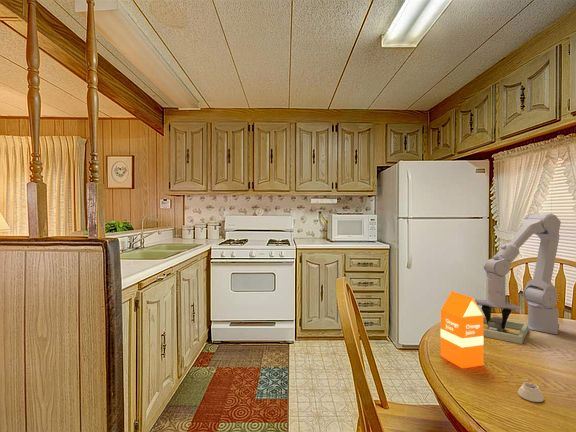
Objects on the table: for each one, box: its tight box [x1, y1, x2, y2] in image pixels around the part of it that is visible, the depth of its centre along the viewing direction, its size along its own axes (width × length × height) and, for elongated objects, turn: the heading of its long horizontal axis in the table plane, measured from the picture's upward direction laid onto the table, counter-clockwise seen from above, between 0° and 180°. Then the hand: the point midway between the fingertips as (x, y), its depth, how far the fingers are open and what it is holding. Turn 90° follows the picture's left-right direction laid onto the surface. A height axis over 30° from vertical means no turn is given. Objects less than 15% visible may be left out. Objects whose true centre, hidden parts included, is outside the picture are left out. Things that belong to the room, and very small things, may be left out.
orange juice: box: [440, 291, 485, 369], centre depth 101 cm, size 8×9×20 cm
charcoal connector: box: [487, 316, 505, 333], centre depth 125 cm, size 4×13×4 cm, turn 139°
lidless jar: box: [517, 382, 545, 403], centre depth 80 cm, size 5×3×5 cm
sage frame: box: [483, 315, 529, 345], centre depth 126 cm, size 18×18×2 cm
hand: (496, 327), depth 126 cm, fingers closed on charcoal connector, 4 cm apart
